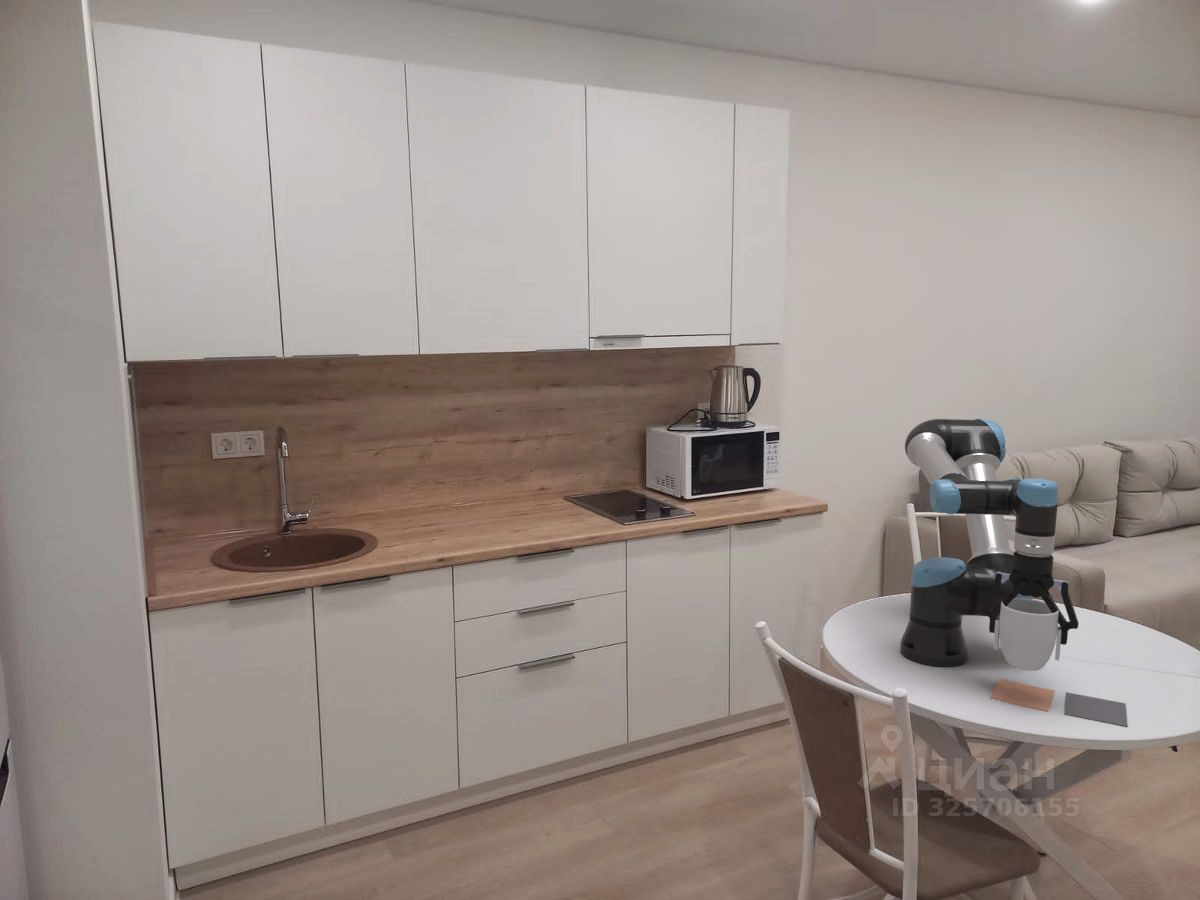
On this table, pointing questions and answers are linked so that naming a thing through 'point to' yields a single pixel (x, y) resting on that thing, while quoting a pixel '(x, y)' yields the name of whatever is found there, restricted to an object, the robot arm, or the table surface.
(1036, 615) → the mug
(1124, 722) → the charcoal mat
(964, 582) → the robot arm
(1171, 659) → the table surface
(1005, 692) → the terracotta tile
